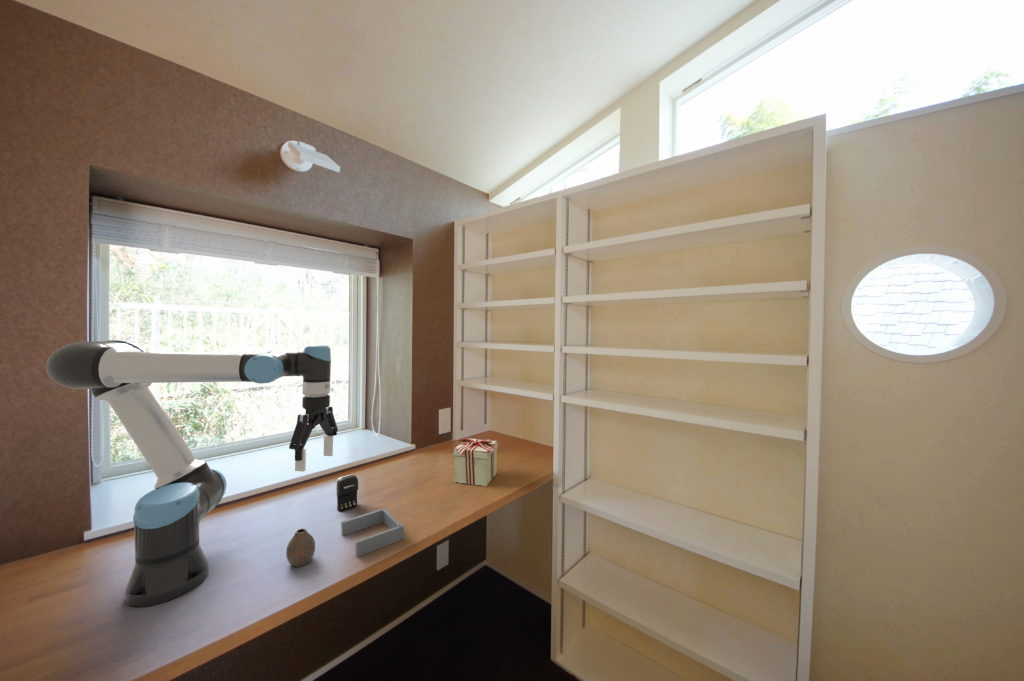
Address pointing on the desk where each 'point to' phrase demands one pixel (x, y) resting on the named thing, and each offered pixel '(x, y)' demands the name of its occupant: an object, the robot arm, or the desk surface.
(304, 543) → the vase
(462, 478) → the gift box
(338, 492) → the battery charger
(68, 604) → the desk surface
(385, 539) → the box
